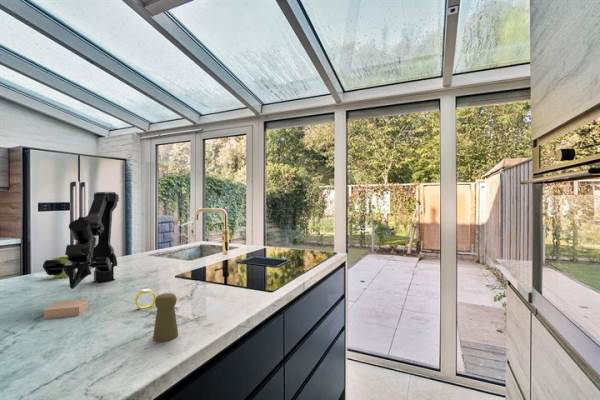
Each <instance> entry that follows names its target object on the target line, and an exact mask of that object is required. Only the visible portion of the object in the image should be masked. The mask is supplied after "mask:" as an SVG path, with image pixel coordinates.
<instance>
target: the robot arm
mask: <svg viewBox="0 0 600 400" xmlns="http://www.w3.org/2000/svg"><path fill="white" fill-rule="evenodd" d="M119 200H120V197H119V194H117V193H116V191H97V192H94V193H93V201H92V203H91V205H90V208H89V211H88V213H87V215H86V216H79V217H78V218H77V219H75V220H73V221H71V222H70V223H69V224H68V229H69V231H70V234H71V236H72V238H73V240H75V241H76V243H75V244H66V247H65V253H64V255H65V256H68V258H67V259H68V261H69V262H65V263H61V261H60V259H56V260H50V259H46V260H45V261H44V262H43V264H42V269H43V270H44V271H45V273H46V275H47V276H54V275H60V274H61V273H62V272H63V270H64V271H65V273H66V275H67V276H69V277H68V279H69V280H68V281H69V282H68V283H69V288H70V289H72V290H73V289H75V288H76V287H77V286H78V285H79V284H80V283H81V282H82V281H83V280H84V279H85V278H87V277H88V276H90V275H92V270H93V269H94V270H93V281H94V282H96V283H97V284H100V283H107V282H112V281H115V280H116V278H114V276H115V275H114V274H115V273H114V272H115V271H114V267H118V259H117V256H116V254H115V250H114V247H113V246H112V245H111V238H112V237H111V235H112V222H113V211H114V210H115V209H116V208H117V206H118V202H119ZM96 237H98V238H96ZM96 243H97V244H96Z"/></svg>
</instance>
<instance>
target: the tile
mask: <svg viewBox="0 0 600 400" xmlns="http://www.w3.org/2000/svg"><path fill="white" fill-rule="evenodd" d="M88 307H89V299H88V298H83V299H82V298H81V299H70V300H68V299H67V300H59V301H58V300H57V301H55V302H53V303H51V304H50V305H49V306H48V307H46V308H44V309H43V319H44V320H45V318H48V319H56V318H55V317H58V318H67V317H66V316H68V317H78V316H80V315H81V314H82V313H84V311H86V309H88Z"/></svg>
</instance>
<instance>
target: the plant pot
mask: <svg viewBox="0 0 600 400" xmlns="http://www.w3.org/2000/svg"><path fill="white" fill-rule="evenodd" d="M67 258H68V256H67V255H65V256H64V255H63V256H58V257H52V258H50V259H49V260H56V259H60V261H61V263H65V262H69V261H68V259H67ZM53 276H54V277H53V278H55V279H61V278H62V279H66V278H69V276H67V275H66V273H65V271H64V270H63V272H62V273H61V274H60V275H53ZM65 277H66V278H65Z"/></svg>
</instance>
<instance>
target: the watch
mask: <svg viewBox="0 0 600 400" xmlns="http://www.w3.org/2000/svg"><path fill="white" fill-rule="evenodd" d="M149 293H150V294H152V295H153V300H152V302H151V303H150V304H149V305H144V306H141V305H139V304H138V299H139V297H140V296H141V295H143V294H149ZM156 297H157V296H156V294H155V293H154V291H152V290H151V289H150V288H144V289H141V290H140V292H139V293H137V294H136V297H135V298H134V303H135V305H136V307H137V309H141V310H143V309H148V308H149V309H150V308H152V306H153V305H155V299H156Z"/></svg>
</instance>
